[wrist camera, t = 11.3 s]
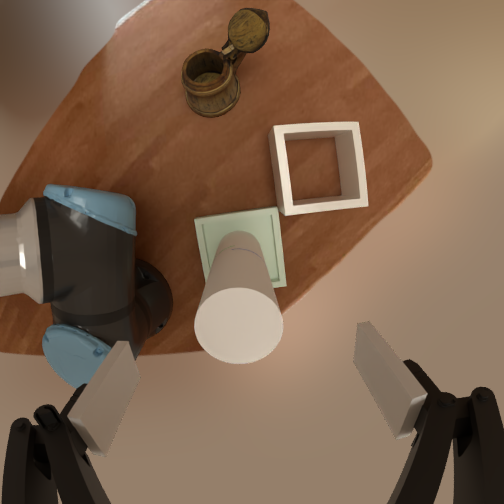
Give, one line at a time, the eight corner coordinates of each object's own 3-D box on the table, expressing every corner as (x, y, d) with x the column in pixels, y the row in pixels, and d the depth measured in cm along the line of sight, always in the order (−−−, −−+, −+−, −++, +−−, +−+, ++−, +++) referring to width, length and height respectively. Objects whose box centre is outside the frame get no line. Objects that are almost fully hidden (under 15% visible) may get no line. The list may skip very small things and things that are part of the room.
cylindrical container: (260, 273, 47) (280, 363, 23) (217, 272, 47) (197, 362, 23) (261, 230, 46) (286, 287, 21) (217, 230, 45) (191, 286, 21)
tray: (210, 291, 49) (208, 296, 46) (196, 217, 46) (194, 219, 43) (284, 280, 49) (286, 286, 46) (275, 205, 46) (277, 207, 43)
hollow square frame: (277, 209, 46) (285, 215, 38) (267, 135, 43) (273, 125, 35) (348, 201, 46) (368, 206, 38) (340, 130, 43) (358, 121, 35)
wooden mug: (273, 85, 41) (291, 36, 23) (204, 127, 42) (182, 95, 25) (243, 48, 39) (245, -11, 21) (176, 88, 40) (143, 43, 23)
